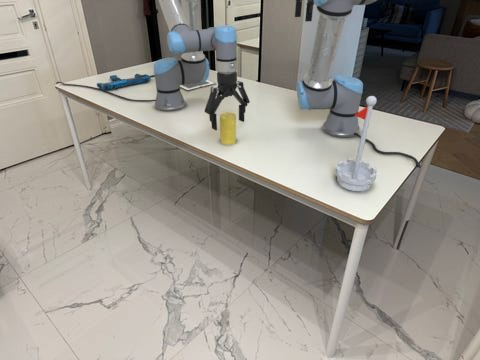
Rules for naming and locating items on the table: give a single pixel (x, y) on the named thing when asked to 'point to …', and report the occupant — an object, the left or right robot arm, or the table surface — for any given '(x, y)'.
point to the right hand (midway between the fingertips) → (302, 19)
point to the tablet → (196, 85)
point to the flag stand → (358, 159)
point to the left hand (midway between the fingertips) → (228, 124)
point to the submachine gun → (123, 81)
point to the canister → (227, 128)
